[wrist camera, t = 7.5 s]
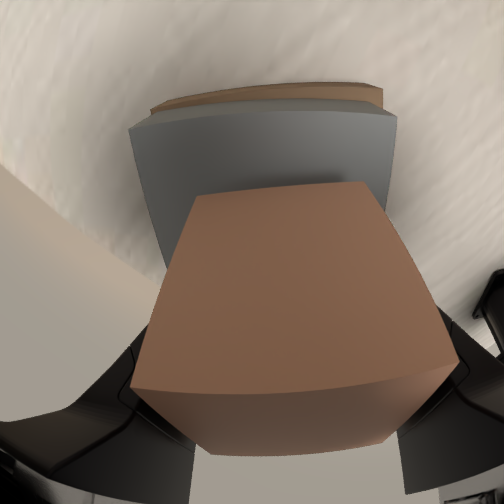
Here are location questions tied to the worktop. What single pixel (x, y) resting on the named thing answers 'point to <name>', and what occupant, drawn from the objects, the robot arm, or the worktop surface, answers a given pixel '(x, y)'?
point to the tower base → (282, 94)
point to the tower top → (257, 152)
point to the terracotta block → (291, 325)
